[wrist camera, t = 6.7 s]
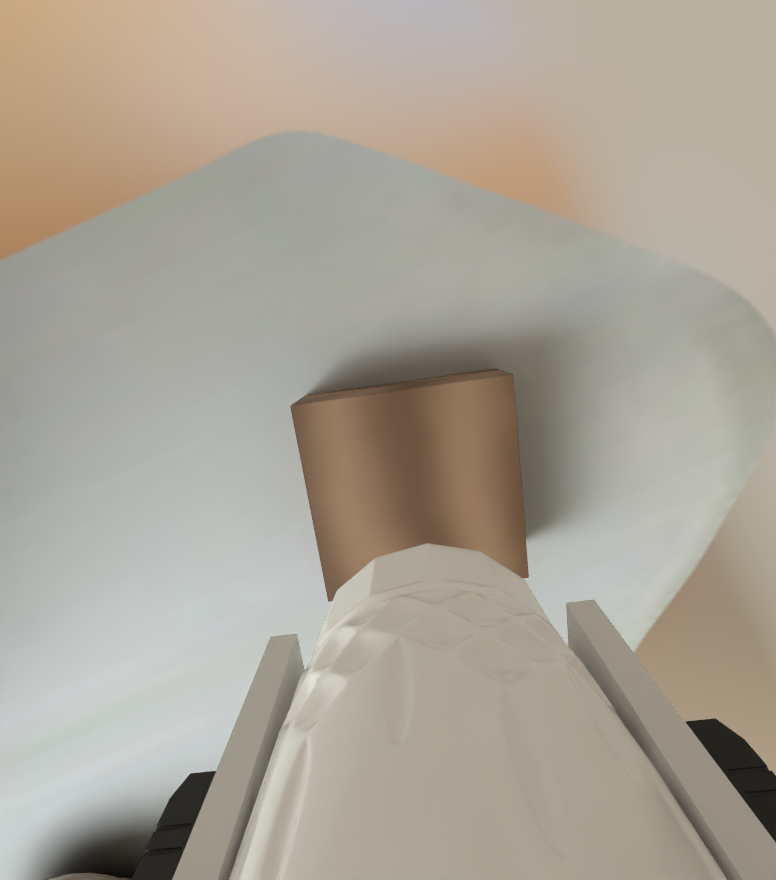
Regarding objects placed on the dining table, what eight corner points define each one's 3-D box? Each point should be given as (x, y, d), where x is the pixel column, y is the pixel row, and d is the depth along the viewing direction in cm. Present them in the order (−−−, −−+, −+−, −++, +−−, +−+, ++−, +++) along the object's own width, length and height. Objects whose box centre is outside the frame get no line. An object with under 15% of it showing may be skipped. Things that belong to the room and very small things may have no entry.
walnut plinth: (336, 567, 31) (328, 601, 27) (304, 395, 28) (290, 405, 24) (511, 546, 30) (528, 577, 26) (496, 368, 28) (512, 374, 24)
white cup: (445, 465, 12) (650, 1006, 2) (620, 652, 13) (1225, 1507, 4) (247, 637, 13) (-142, 1433, 4) (423, 792, 15) (479, 1692, 5)
